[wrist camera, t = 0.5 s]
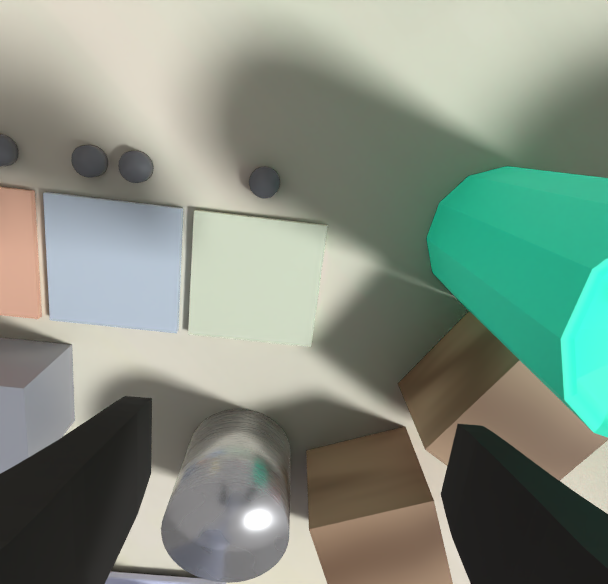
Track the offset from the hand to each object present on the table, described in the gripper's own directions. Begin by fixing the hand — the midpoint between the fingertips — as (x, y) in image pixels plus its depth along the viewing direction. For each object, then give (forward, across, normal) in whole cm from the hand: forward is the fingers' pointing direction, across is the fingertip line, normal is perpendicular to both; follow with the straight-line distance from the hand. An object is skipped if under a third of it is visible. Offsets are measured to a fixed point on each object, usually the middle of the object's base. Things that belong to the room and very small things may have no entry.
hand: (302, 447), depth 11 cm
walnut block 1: (+10, -4, +9) cm, 14 cm away
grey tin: (+10, +2, +8) cm, 13 cm away
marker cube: (+10, +12, +5) cm, 17 cm away
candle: (+10, -8, -4) cm, 14 cm away
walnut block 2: (+10, -8, +3) cm, 14 cm away
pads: (+10, +8, -2) cm, 13 cm away
